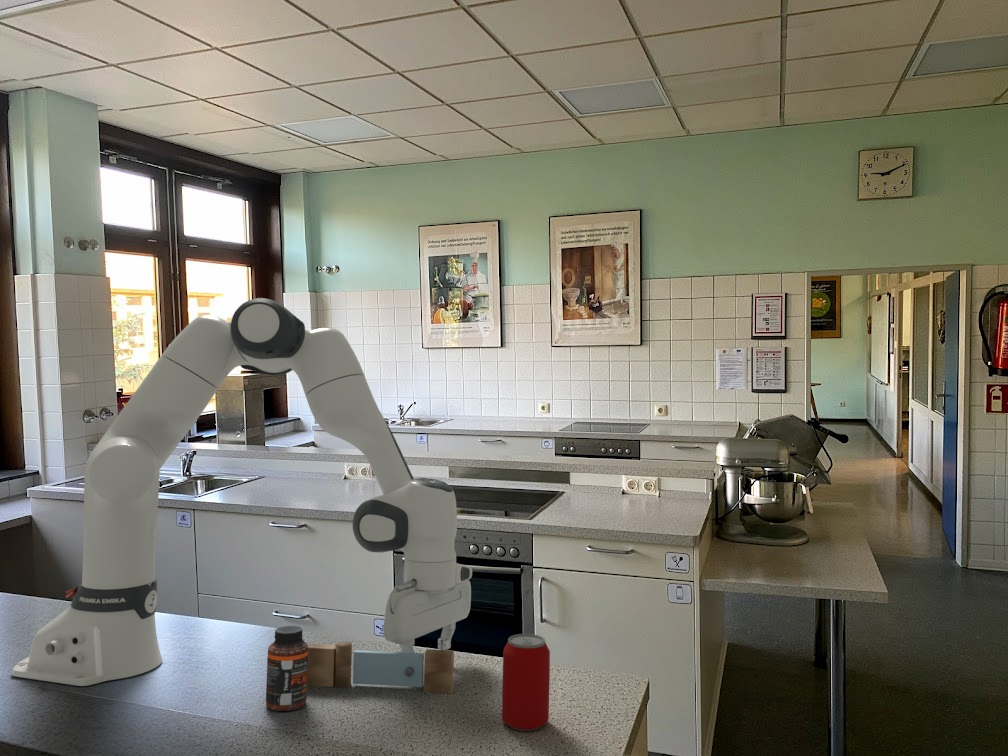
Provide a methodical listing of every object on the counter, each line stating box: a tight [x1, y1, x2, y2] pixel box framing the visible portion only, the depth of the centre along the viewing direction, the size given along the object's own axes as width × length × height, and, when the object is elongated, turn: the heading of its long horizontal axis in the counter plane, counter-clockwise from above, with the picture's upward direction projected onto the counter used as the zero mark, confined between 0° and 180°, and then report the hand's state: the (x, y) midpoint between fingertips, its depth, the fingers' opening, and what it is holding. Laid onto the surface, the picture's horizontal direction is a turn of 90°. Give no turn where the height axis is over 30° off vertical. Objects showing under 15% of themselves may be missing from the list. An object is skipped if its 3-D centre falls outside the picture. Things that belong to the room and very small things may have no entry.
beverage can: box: [501, 633, 551, 732], centre depth 111 cm, size 7×7×12 cm
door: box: [352, 649, 425, 688], centre depth 123 cm, size 11×2×5 cm, turn 85°
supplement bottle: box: [265, 625, 308, 712], centre depth 116 cm, size 6×6×11 cm
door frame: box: [307, 641, 455, 694], centre depth 124 cm, size 27×3×6 cm, turn 85°
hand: (427, 656), depth 131 cm, fingers open, 8 cm apart
